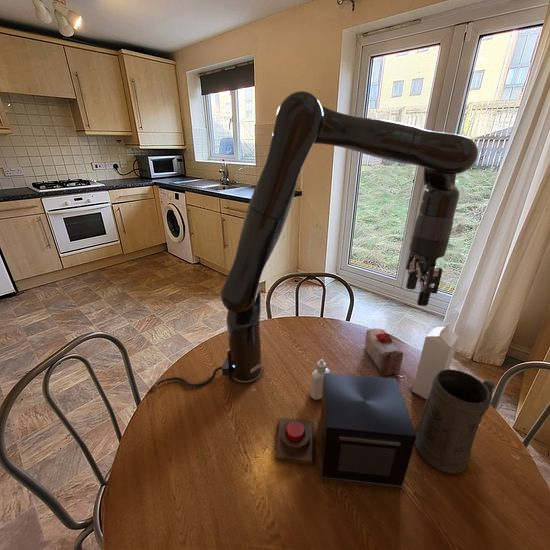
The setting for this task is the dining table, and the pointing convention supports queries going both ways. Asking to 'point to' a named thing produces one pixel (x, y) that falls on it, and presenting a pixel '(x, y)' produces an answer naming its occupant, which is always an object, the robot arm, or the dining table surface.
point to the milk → (434, 358)
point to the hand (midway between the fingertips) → (415, 296)
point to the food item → (383, 351)
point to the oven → (364, 431)
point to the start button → (295, 431)
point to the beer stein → (452, 419)
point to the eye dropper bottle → (318, 380)
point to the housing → (294, 444)
